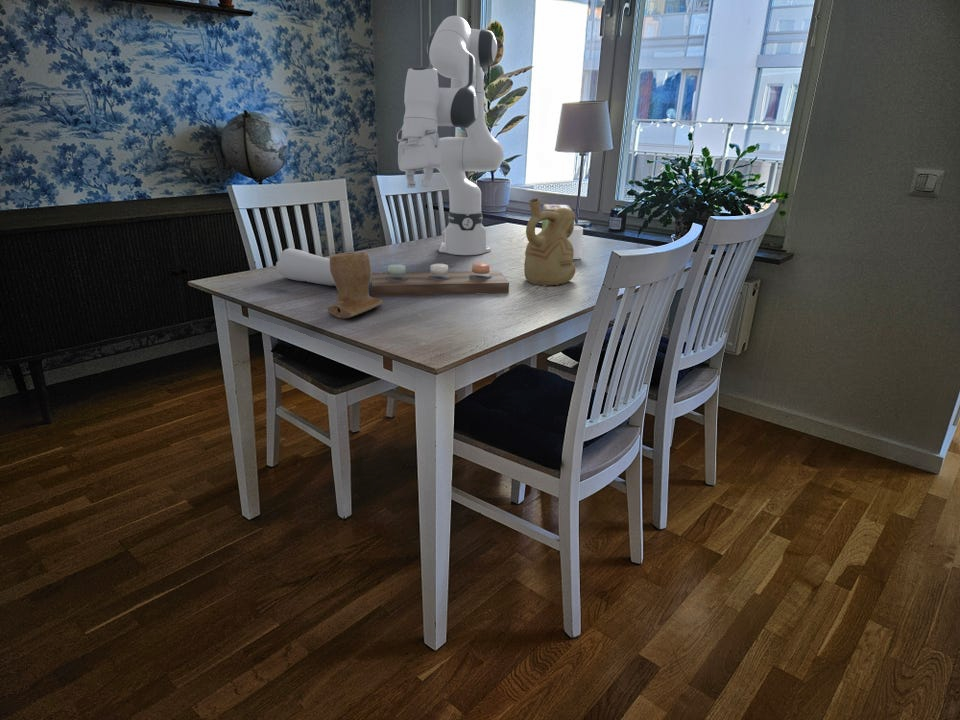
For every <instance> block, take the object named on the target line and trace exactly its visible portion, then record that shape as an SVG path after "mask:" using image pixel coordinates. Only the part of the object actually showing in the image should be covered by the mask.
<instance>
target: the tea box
mask: <svg viewBox="0 0 960 720" xmlns="http://www.w3.org/2000/svg"><path fill="white" fill-rule="evenodd" d="M542 206H543V207H542V212H544V211H551V212H554V211H555V210H557V209H559V208H567V209H569V210H571V211H572V212H573V209H572V208H571V207H570V205H568V204H548V203H547V204H546V203H544V204H543V205H542ZM547 222H548V220H547V219H546V220H542V221H541V231H542V230H543V229H544V228H545V227H546V225H547Z"/></svg>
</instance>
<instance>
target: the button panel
mask: <svg viewBox="0 0 960 720" xmlns="http://www.w3.org/2000/svg"><path fill="white" fill-rule="evenodd" d="M371 292H372V293H371V294H372V296H371V297H395V296H396V297H398V296H399V297H400V296H440V295H441V294H442V295H443V296H444V294H446V295H475V294H476V293H487V294H509V293H510V282H509V281H508V279H507V278H506V276H505V275H504V274H503V272H502V271H501V270H489V273H487V274H476V273H473V272H472V270H465V271H463V270H460V271H459V270H457V271H454V270H453V271H448V273H447V274H444V275H435V274H431V271H414V272H411V271H410V272H409V271H408V272H407V271H406V274H405V275H400V276H394V275H389V274H388V272H372V273H371ZM476 295H477V294H476Z"/></svg>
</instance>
